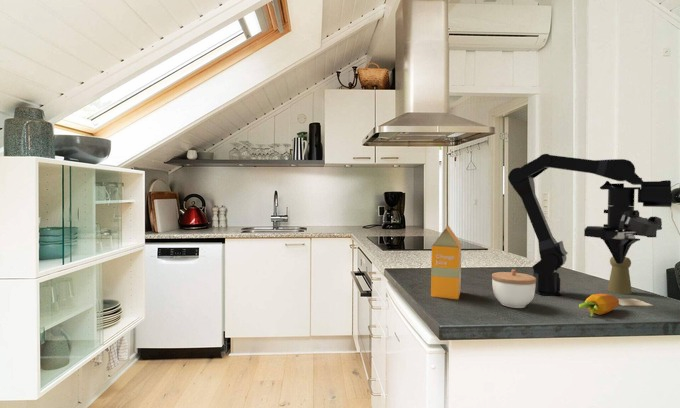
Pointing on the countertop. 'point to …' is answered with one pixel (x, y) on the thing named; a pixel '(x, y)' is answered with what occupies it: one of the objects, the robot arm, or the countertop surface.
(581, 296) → the countertop surface
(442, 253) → the orange juice
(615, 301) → the carrot
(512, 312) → the countertop surface
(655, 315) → the countertop surface
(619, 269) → the cork
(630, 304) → the beige rectangular sheet
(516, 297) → the lidded jar
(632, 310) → the countertop surface
